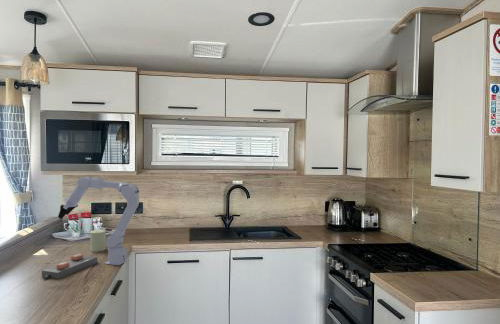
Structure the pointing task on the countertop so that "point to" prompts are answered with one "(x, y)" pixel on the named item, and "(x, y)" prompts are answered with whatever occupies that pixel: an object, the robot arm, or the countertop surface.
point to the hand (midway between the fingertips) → (62, 215)
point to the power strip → (69, 267)
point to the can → (97, 240)
